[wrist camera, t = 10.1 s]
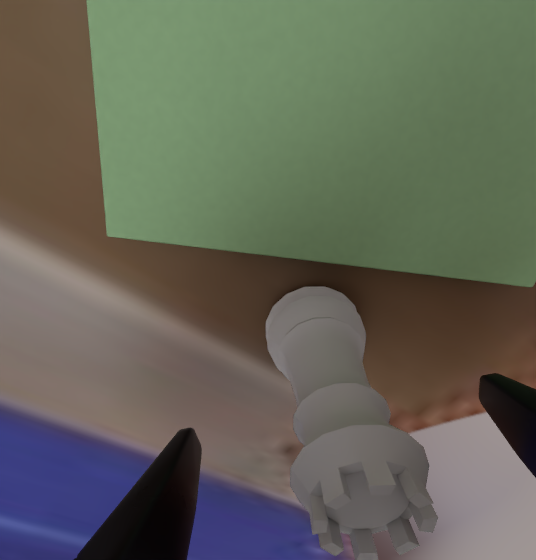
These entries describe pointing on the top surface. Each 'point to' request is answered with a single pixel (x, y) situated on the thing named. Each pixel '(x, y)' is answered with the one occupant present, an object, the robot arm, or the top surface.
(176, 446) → the robot arm
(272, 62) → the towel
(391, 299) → the top surface
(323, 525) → the rook chess piece
